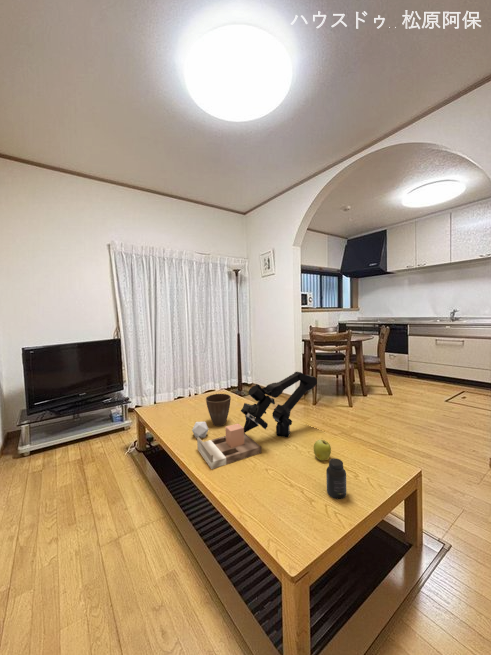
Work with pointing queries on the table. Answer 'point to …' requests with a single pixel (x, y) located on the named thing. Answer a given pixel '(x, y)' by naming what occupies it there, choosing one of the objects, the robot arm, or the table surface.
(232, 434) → the block
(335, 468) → the supplement bottle
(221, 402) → the plant pot
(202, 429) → the die
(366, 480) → the table surface
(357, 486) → the table surface
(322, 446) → the apple
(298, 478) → the table surface
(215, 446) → the brown piece
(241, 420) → the table surface
